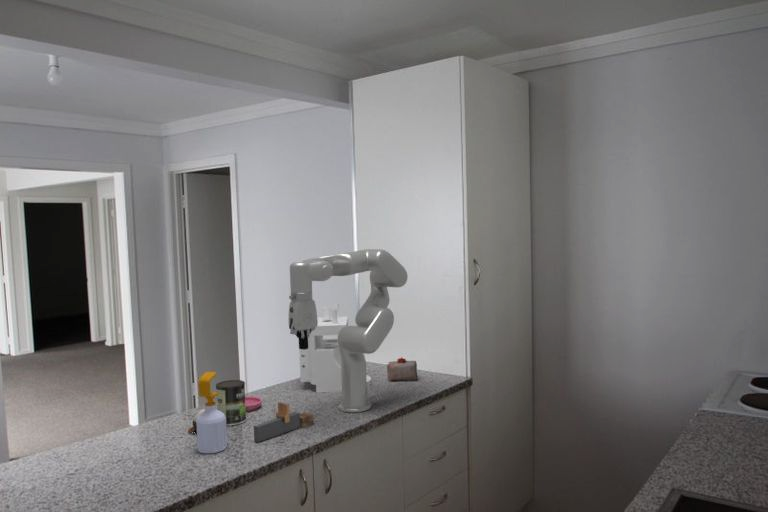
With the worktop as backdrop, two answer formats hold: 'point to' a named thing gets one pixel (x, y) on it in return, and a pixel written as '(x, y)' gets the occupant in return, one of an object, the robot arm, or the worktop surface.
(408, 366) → the food item
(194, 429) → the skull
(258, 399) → the saucer
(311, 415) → the block
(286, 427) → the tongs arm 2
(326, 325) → the coffee machine
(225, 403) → the coffee can
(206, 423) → the spray bottle
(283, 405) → the tan wooden block
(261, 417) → the worktop surface
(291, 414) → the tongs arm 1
